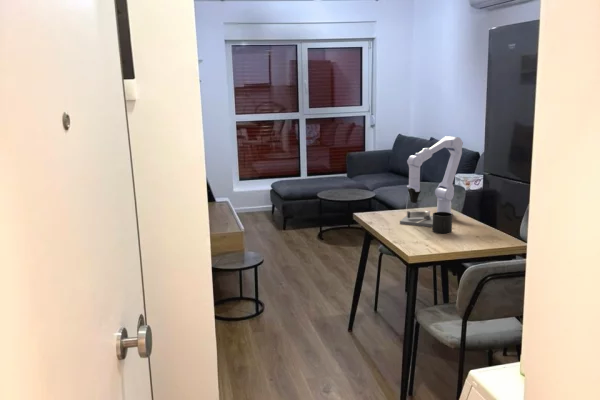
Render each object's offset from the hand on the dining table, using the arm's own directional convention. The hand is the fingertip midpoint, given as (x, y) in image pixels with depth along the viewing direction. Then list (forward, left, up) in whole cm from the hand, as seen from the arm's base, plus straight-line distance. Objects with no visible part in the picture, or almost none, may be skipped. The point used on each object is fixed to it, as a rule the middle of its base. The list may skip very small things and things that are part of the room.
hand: (413, 202), depth 295 cm
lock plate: (+4, +7, -9) cm, 12 cm away
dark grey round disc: (+2, +8, -8) cm, 12 cm away
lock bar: (+5, +4, -7) cm, 9 cm away
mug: (+20, +20, -10) cm, 30 cm away
